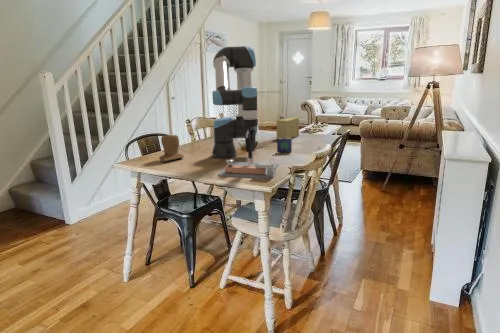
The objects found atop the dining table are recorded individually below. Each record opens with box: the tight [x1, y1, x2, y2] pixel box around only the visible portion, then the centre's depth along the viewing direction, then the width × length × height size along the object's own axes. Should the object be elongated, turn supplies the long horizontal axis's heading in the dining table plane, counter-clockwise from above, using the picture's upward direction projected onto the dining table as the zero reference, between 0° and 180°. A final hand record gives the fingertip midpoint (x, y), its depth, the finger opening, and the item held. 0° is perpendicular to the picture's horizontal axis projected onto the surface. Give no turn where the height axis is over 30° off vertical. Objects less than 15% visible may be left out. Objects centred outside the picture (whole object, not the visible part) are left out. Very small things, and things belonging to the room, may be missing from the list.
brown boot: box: [158, 134, 185, 163], centre depth 204 cm, size 15×12×15 cm
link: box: [224, 165, 266, 174], centre depth 172 cm, size 21×5×3 cm, turn 78°
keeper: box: [255, 159, 276, 178], centre depth 169 cm, size 9×8×6 cm
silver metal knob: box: [225, 158, 235, 166], centre depth 173 cm, size 4×4×3 cm
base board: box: [217, 161, 280, 180], centre depth 180 cm, size 26×26×1 cm
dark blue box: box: [276, 136, 293, 154], centre depth 216 cm, size 9×3×11 cm, turn 95°
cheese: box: [276, 116, 300, 140], centre depth 265 cm, size 22×10×15 cm, turn 136°
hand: (251, 163), depth 178 cm, fingers closed
